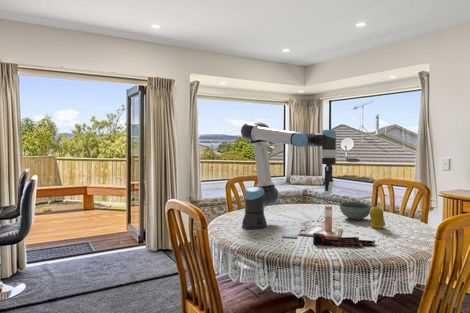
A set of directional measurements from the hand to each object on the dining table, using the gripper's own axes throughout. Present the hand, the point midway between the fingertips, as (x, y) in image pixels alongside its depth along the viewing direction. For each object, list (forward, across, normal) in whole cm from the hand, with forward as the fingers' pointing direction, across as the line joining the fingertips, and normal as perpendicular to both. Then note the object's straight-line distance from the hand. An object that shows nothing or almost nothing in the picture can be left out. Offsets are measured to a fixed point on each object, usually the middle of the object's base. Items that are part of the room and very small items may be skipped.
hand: (328, 194), depth 193 cm
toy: (+22, -20, -10) cm, 32 cm away
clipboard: (+22, -1, +4) cm, 22 cm away
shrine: (+22, +20, -26) cm, 40 cm away
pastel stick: (+21, 0, 0) cm, 21 cm away
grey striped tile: (+22, -15, +19) cm, 32 cm away
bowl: (+22, +41, -13) cm, 48 cm away
